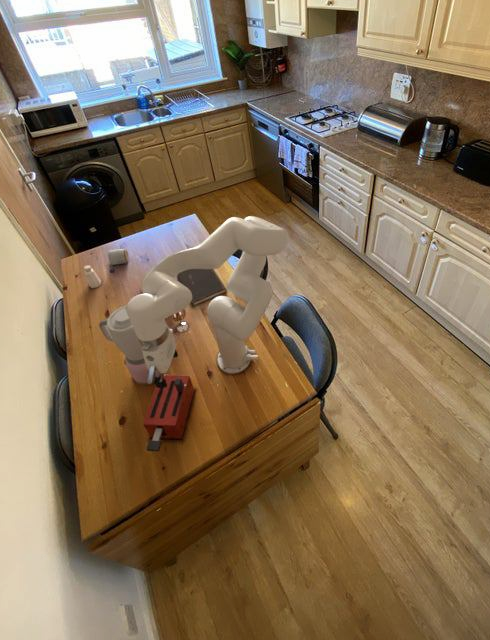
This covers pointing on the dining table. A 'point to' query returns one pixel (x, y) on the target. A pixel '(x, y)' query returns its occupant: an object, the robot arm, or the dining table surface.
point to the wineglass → (180, 320)
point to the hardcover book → (202, 284)
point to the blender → (127, 344)
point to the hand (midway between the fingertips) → (167, 370)
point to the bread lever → (155, 441)
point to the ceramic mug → (118, 256)
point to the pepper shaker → (92, 277)
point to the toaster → (170, 409)
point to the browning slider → (179, 385)
